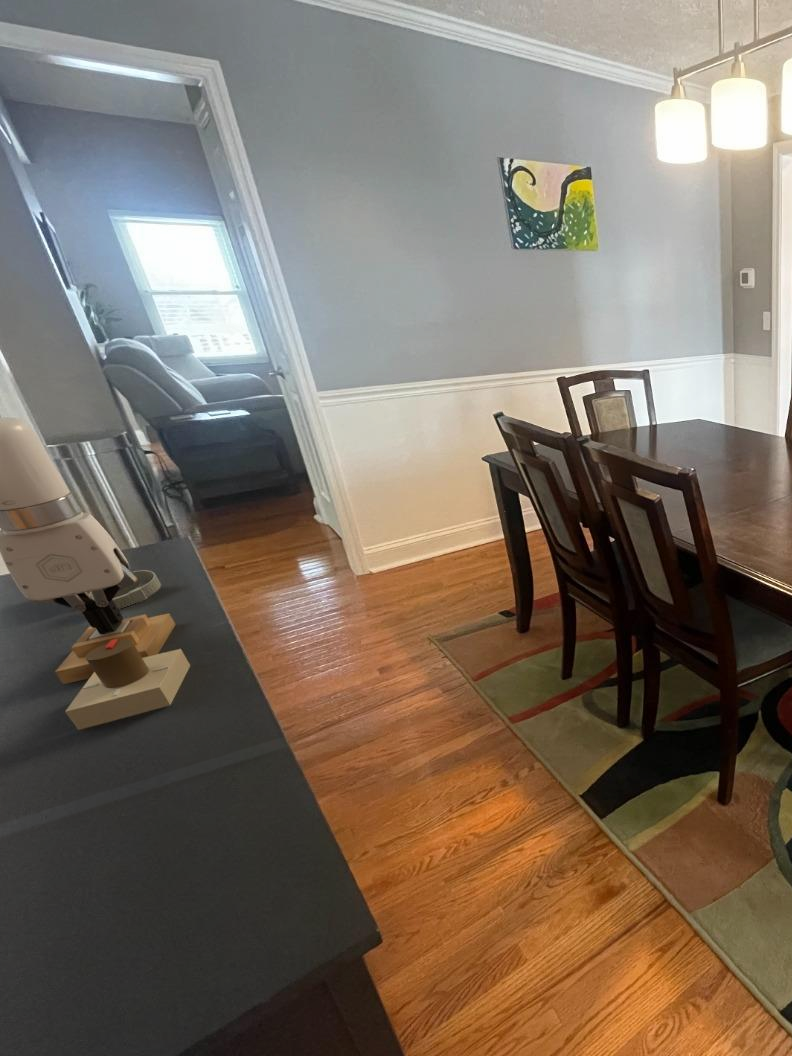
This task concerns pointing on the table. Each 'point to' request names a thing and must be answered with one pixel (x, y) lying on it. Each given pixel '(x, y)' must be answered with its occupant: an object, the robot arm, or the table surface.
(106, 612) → the robot arm
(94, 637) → the grey square frustum
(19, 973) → the table surface
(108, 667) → the volume knob
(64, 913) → the table surface
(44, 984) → the table surface
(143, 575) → the grey woven basket
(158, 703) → the volume panel
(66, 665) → the block
